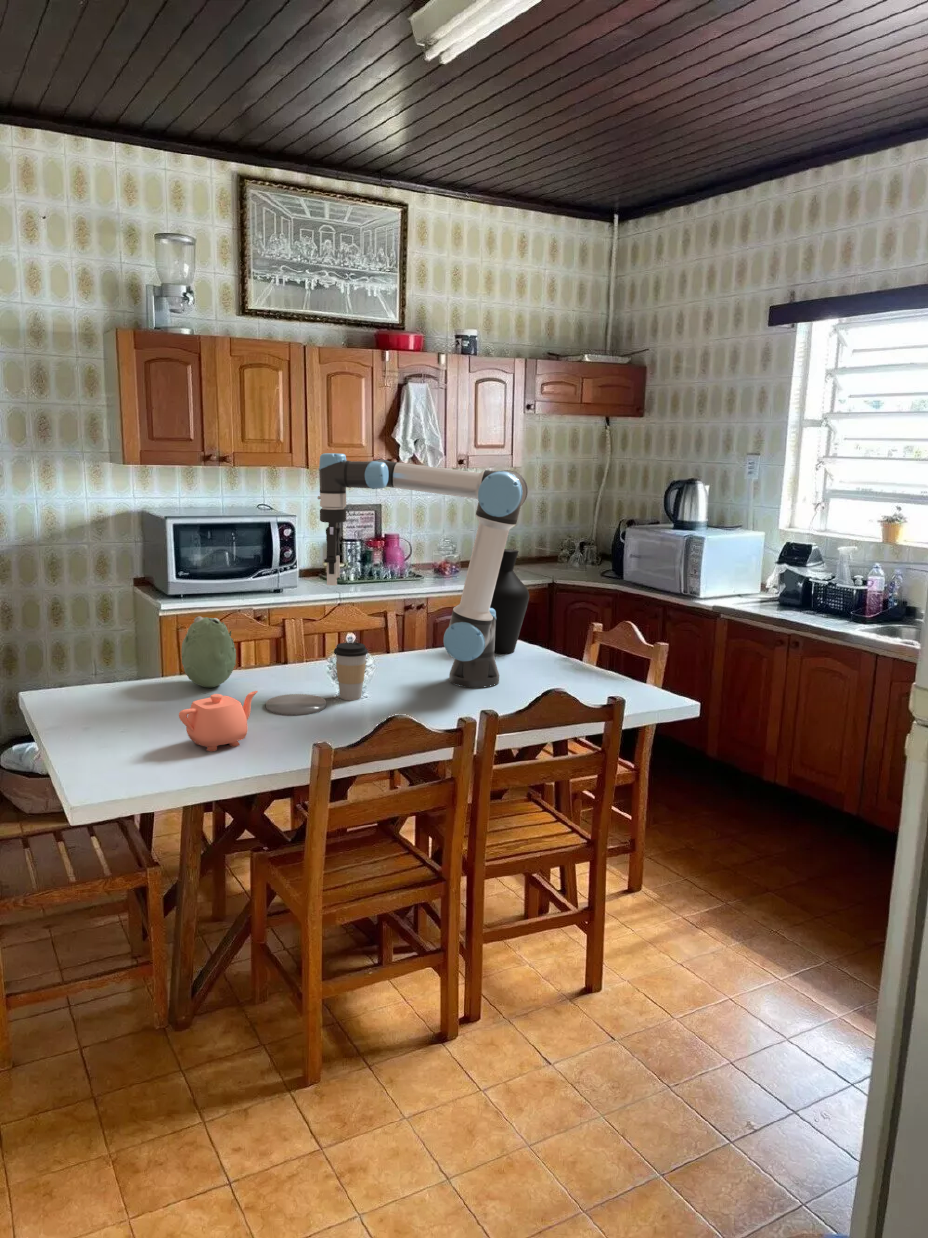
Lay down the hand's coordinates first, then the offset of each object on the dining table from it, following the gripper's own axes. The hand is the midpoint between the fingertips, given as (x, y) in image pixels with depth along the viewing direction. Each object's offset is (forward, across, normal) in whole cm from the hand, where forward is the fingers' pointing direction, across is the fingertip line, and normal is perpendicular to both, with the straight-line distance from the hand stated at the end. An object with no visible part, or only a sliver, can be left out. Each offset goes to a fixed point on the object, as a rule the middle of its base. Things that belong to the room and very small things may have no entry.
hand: (333, 581), depth 267 cm
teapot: (+30, +54, -23) cm, 67 cm away
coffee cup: (+30, +16, +6) cm, 35 cm away
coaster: (+30, +25, -9) cm, 40 cm away
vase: (+31, -41, +55) cm, 75 cm away
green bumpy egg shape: (+30, +6, -35) cm, 47 cm away
